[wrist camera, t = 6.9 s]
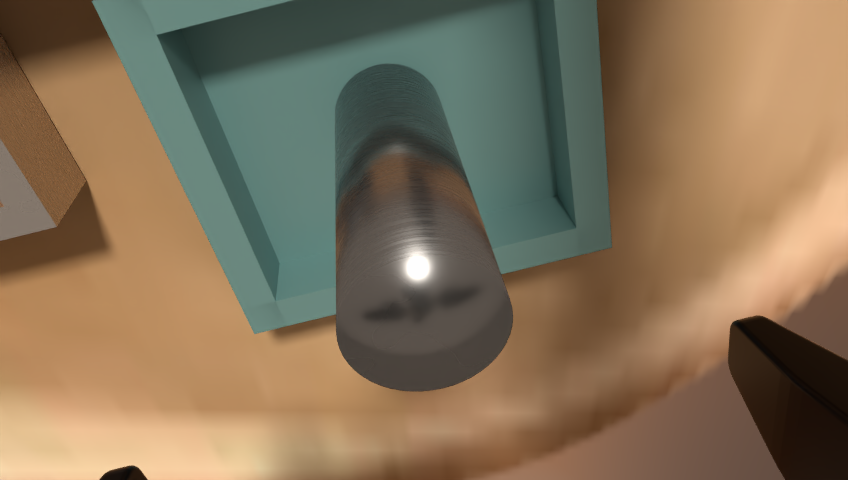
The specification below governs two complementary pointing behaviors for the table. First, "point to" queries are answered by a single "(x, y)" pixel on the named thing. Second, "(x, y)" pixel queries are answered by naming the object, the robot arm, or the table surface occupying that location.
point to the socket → (30, 158)
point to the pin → (410, 240)
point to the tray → (315, 123)
